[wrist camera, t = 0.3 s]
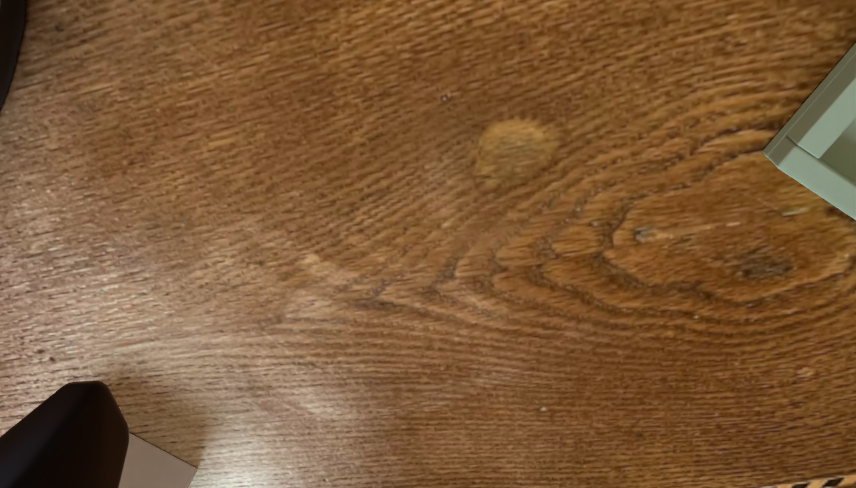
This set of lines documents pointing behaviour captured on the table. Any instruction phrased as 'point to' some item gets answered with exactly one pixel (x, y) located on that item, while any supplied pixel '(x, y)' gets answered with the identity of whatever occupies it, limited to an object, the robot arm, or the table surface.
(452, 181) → the table surface
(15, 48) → the dark sector wedge
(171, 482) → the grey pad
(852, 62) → the tray
